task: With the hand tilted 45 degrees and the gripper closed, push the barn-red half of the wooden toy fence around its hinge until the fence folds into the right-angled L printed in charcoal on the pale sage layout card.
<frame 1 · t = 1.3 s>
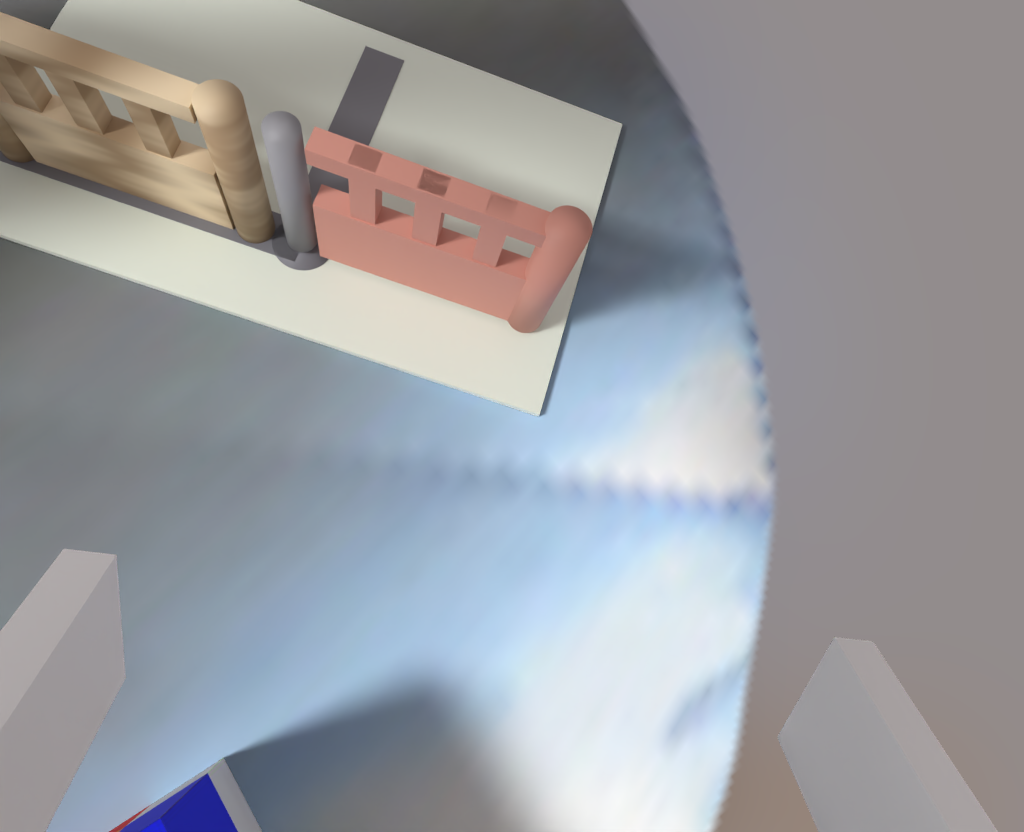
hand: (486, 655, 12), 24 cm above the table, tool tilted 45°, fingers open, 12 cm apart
layout card: (318, 167, 40), on the table
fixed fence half: (303, 247, 39), resting on layout card
hinged fence half: (422, 234, 34), point 6 cm above the table, hinge at 0.0°
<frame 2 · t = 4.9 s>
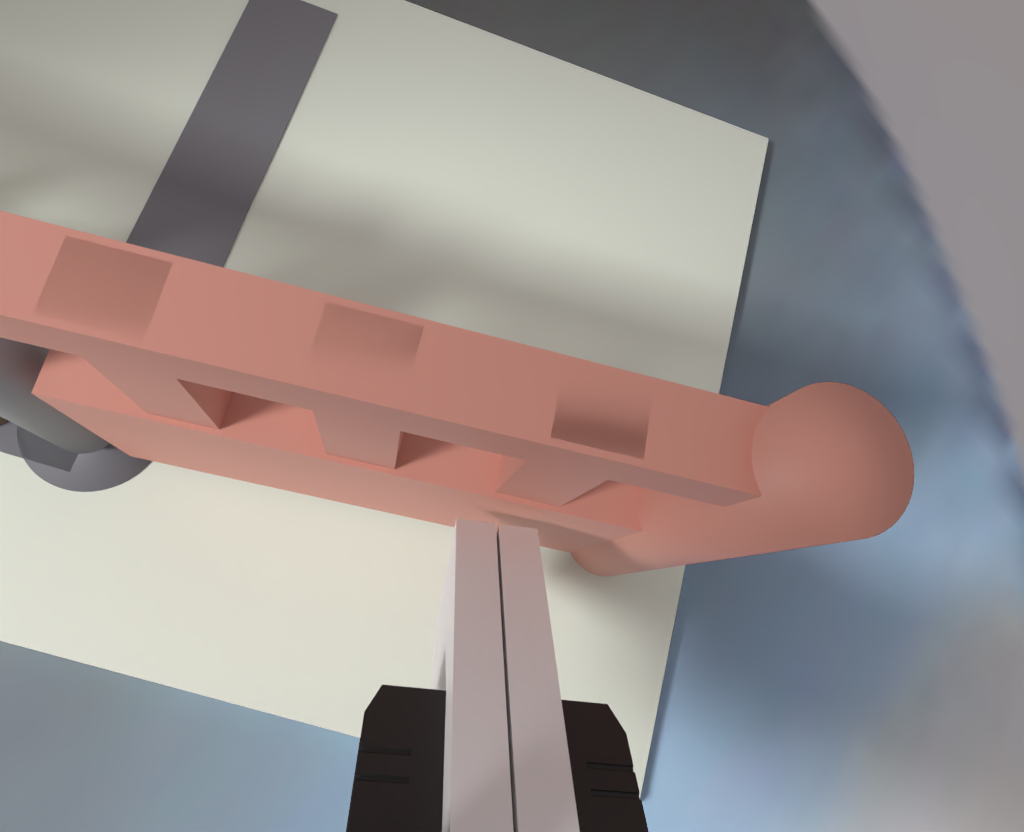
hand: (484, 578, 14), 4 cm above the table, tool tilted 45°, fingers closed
layout card: (145, 241, 19), on the table
hinged fence half: (356, 434, 13), point 6 cm above the table, hinge at 4.6°, touching gripper
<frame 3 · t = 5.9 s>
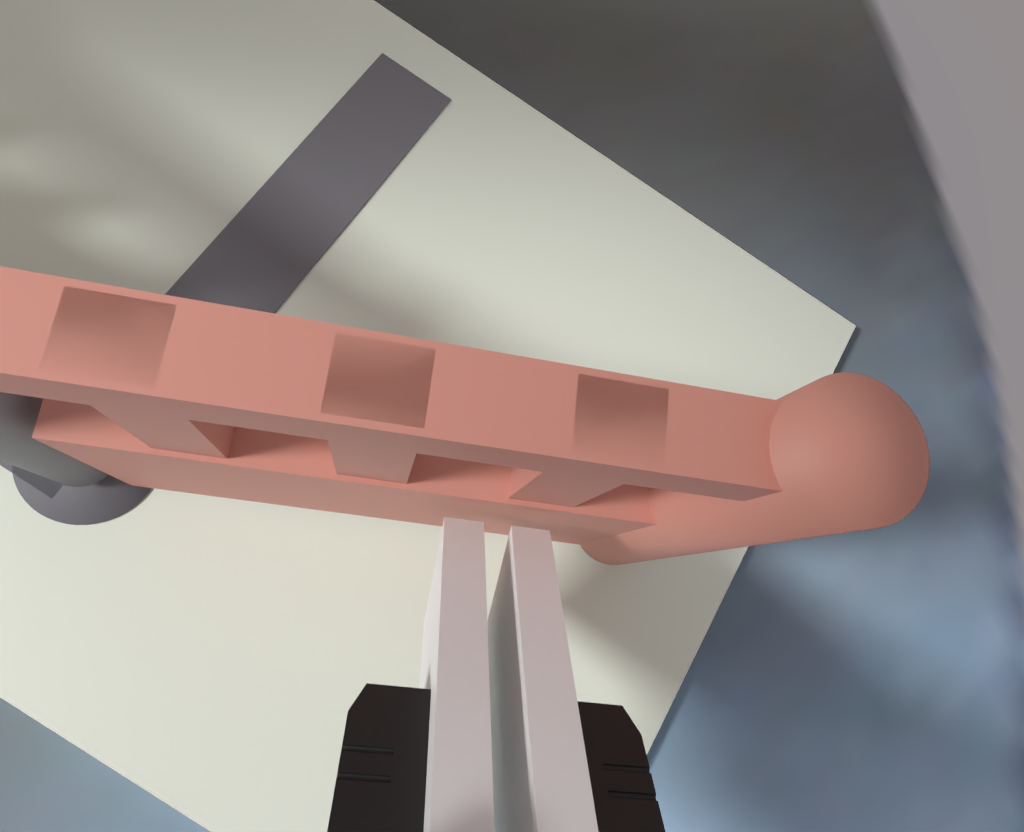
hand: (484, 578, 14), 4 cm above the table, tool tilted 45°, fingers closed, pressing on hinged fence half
layout card: (198, 281, 19), on the table
hinged fence half: (365, 451, 13), point 6 cm above the table, hinge at 25.6°, touching gripper
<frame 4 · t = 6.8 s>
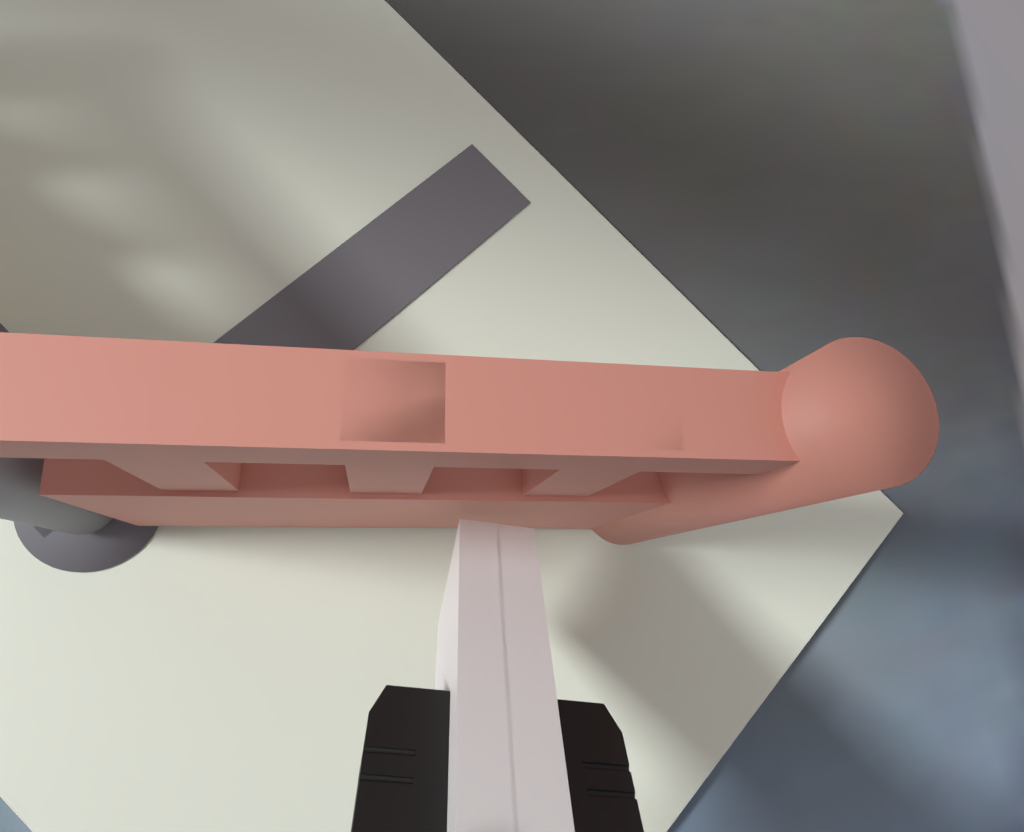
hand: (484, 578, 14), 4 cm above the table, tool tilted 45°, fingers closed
layout card: (239, 340, 18), on the table
hinged fence half: (375, 466, 13), point 6 cm above the table, hinge at 45.2°, touching gripper
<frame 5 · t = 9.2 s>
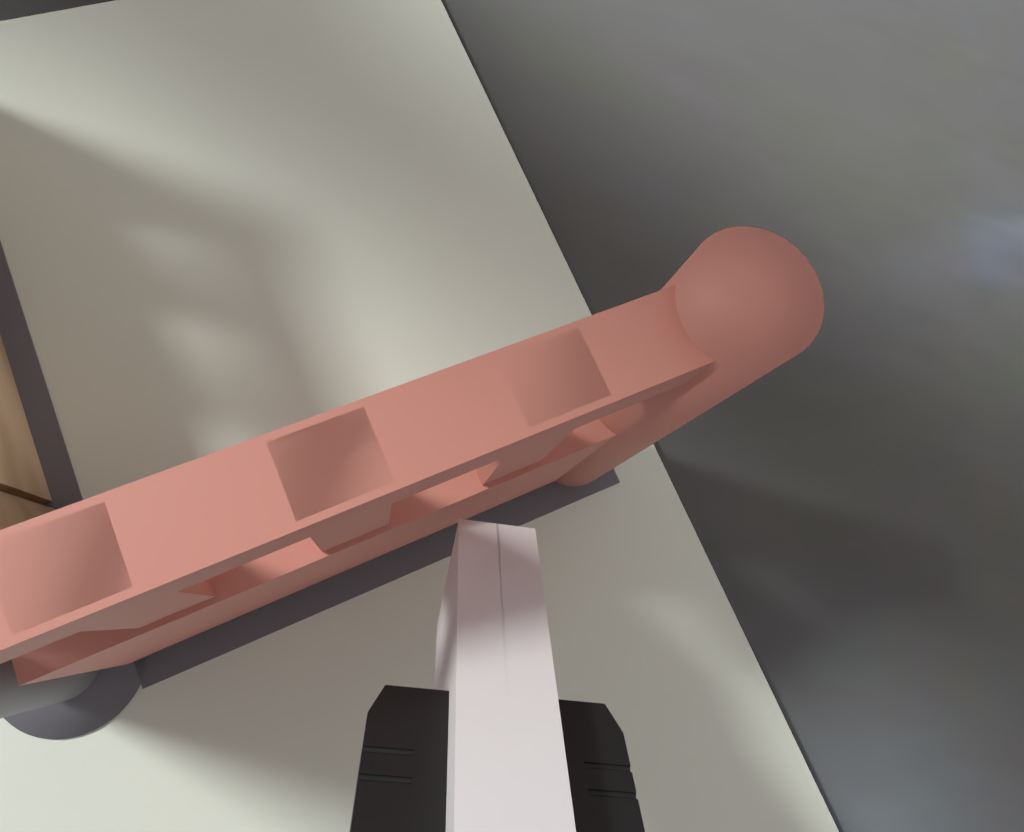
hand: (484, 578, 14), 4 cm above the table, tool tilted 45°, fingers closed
layout card: (279, 533, 18), on the table
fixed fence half: (77, 659, 16), resting on layout card
hinged fence half: (335, 517, 13), point 6 cm above the table, hinge at 90.4°, touching gripper
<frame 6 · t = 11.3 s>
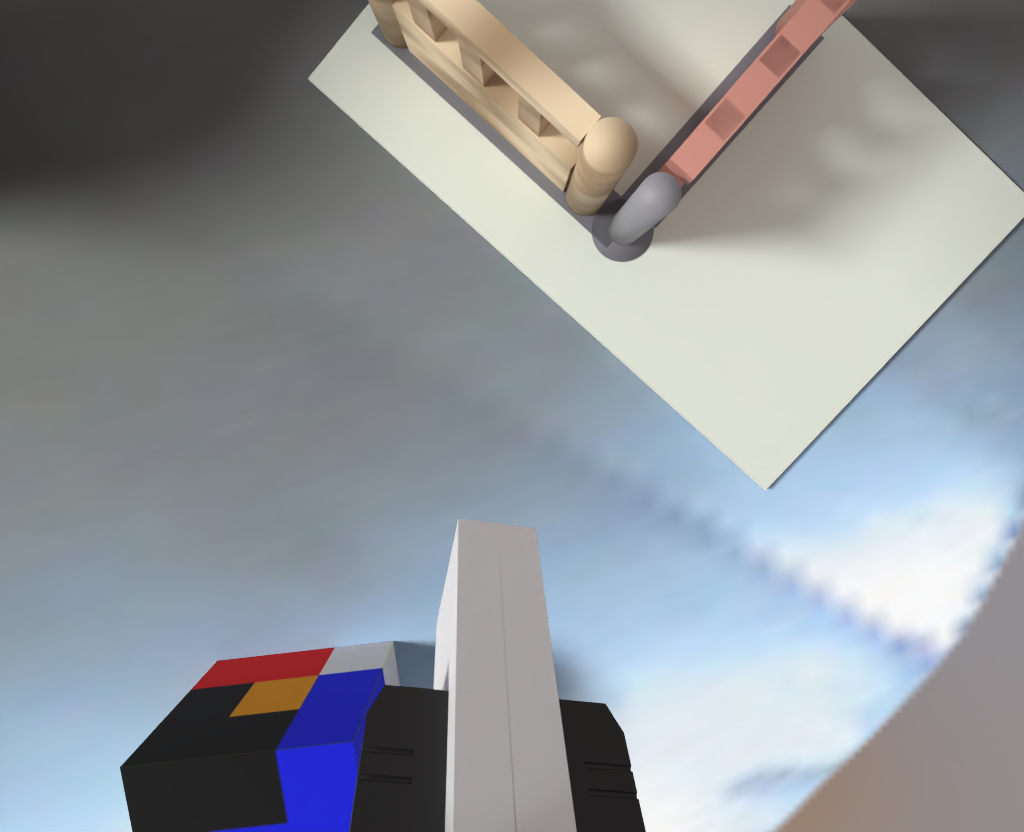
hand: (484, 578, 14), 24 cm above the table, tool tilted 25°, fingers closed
puzzle toy: (320, 731, 41), on the table
layout card: (672, 144, 37), on the table
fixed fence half: (621, 231, 37), resting on layout card
hinged fence half: (739, 99, 31), point 6 cm above the table, hinge at 90.4°
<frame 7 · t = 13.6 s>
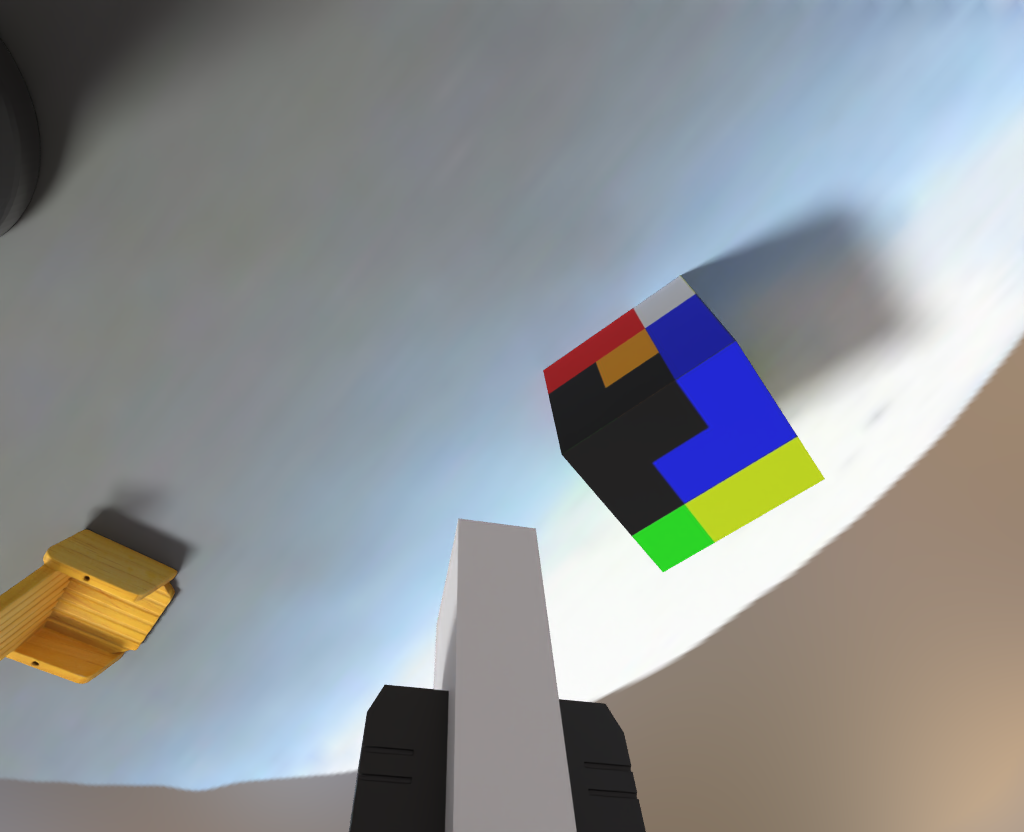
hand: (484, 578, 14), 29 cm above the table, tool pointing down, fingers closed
puzzle toy: (651, 380, 46), on the table
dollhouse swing: (95, 588, 51), on the table
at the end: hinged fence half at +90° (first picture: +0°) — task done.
